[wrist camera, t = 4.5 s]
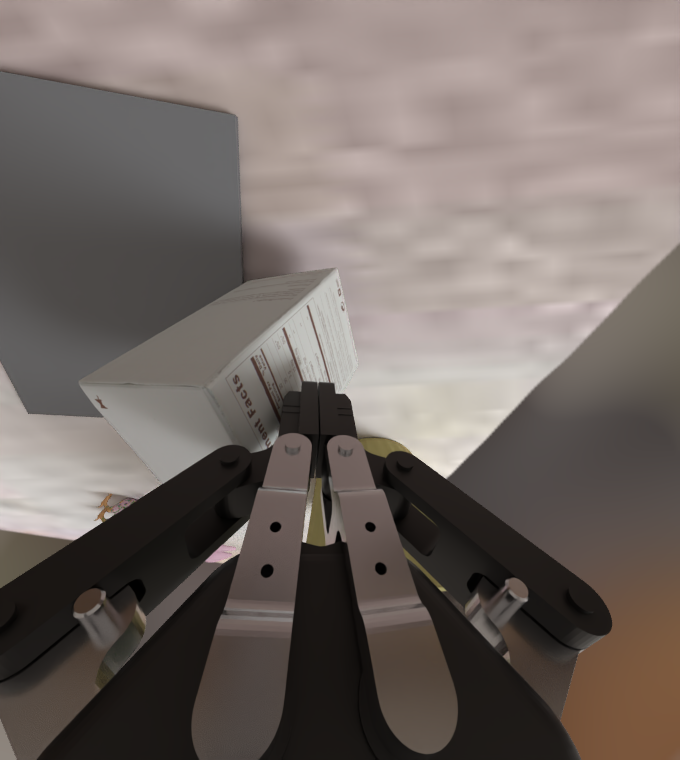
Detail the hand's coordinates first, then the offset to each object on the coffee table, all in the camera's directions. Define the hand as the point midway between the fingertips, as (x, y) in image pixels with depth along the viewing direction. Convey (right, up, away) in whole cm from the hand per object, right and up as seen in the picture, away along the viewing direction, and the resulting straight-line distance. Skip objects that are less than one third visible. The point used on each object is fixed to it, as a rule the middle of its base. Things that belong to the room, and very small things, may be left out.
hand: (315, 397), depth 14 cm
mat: (-15, +7, +7) cm, 18 cm away
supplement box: (-1, +5, +8) cm, 10 cm away
